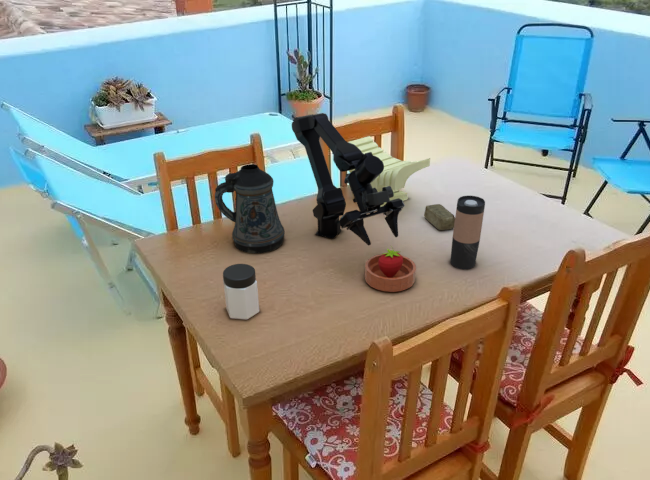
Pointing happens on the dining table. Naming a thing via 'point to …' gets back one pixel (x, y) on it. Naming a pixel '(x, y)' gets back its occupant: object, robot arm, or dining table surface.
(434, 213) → the stone block
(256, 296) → the jar
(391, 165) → the slatted curved stool
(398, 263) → the strawberry
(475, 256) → the travel mug
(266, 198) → the beer stein
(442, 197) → the dining table surface
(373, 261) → the pot
